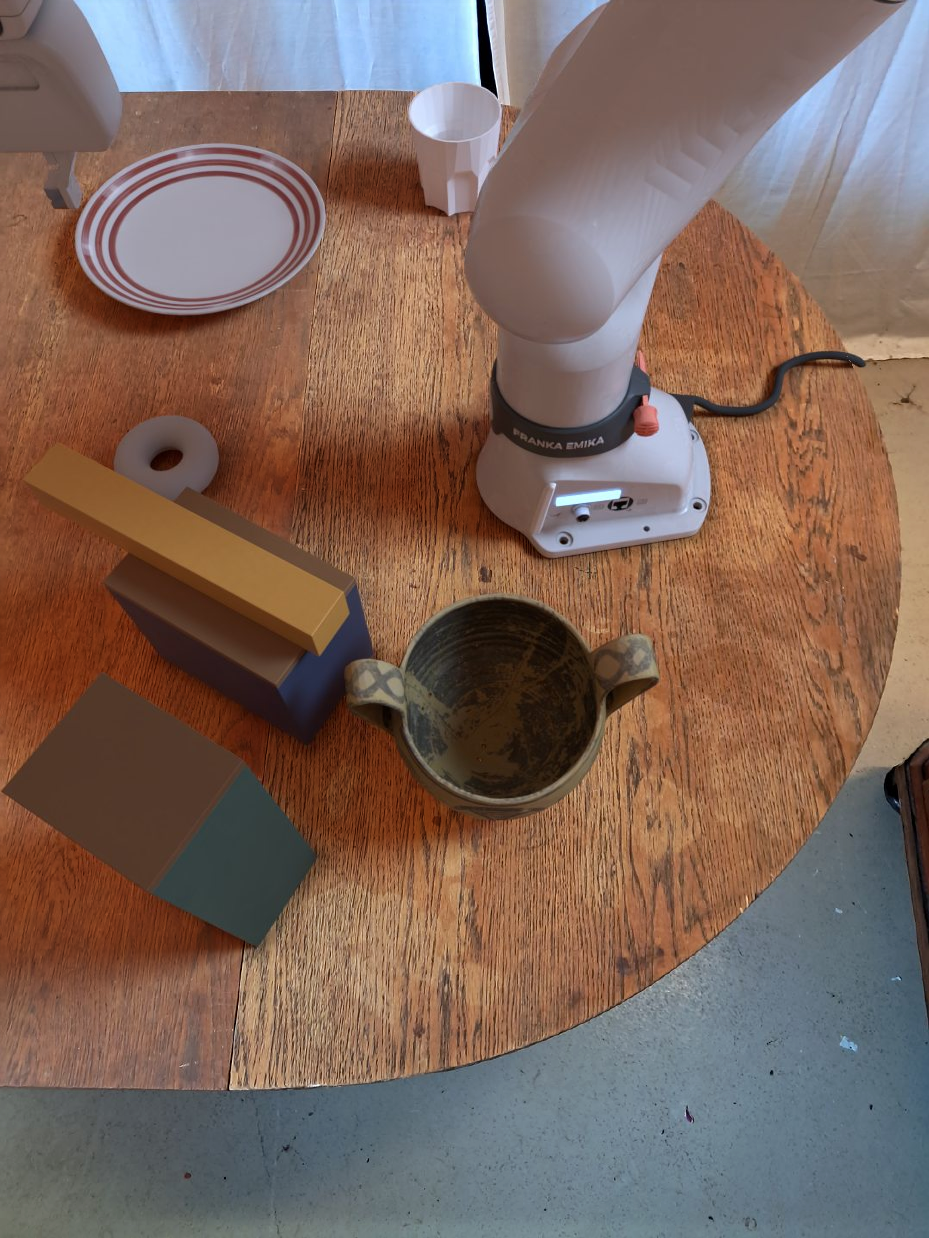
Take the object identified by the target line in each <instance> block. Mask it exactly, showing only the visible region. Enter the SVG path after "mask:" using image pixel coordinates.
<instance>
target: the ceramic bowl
mask: <svg viewBox="0 0 929 1238" xmlns="http://www.w3.org/2000/svg"><path fill="white" fill-rule="evenodd" d="M656 658H657V657H656V653H655V648H654V645H653V641H652V639H651V637H650V636H648V635H646V634H643V633H629V634H626V635H621V636H618V637H616V638H613V639H612V640H610V641H607V642H605V643H603V644H601V645H600V646H598V647H596V648H595V649H594V650H592V649H591V647H590V645H589V644H588V643H587V641H586V639H585V638H584V637H583V635H582V634H581V632H580V631H579V630H578V629H577V628H576V627H575V626H574V624H573V623H572V622H571V621H570V620H568V619H567V618H566V617H565V616H564V615H562V613H560V612H558V611H557V610H556V609H554V608H552V607H551V606H549V605H547V604H546V603H544V602H542V601H540V600H538V599H536V598H532V597H529V596H525V595H520V594H515V593H504V592H493V593H486V594H477V595H472V596H470V597H466V598H463V599H459V600H456V601H455V602H453V603H450V604H449V605H448V604H447V606H445V607H443V608H441V609H439V610H438V611H437V612H435V613H434V614H432V615H431V616H430V617H429V618H428V619H427V620H426V621H425V622H424V623H423V624H422V625H421V626H420V627H419V628H418V629H417V631H416V632H415V633H414V635H413V636H412V638H411V639H410V641H409V643H408V645H407V646H406V649H405V651H404V653H403V656H402V658H401V659H400V663H399V664H398V666H396V665H395V664H392V663H390V662H388V661H384V660H379V659H375V658H371V659H360V660H356V661H353V662H352V663H350V664H349V665H348V666H346V667H345V671H344V678H345V686H346V694H345V695H346V696H345V698H346V708H347V710H348V712H349V713H350V714H351V715H352V716H355V717H357V718H358V719H360V720H362V721H364V722H367V723H369V724H371V725H373V726H374V727H376V728H377V729H378V728H379V729H381V730H382V731H383V732H385V733H386V734H388V735H389V736H390V737H392V738H393V739H394V742H395V746H396V747H397V750H398V751H397V752H398V754H399V756H400V758H401V760H402V761H403V764H404V765H405V767H406V768H407V770H408V772H409V773H410V774H411V776H412V777H413V779H414V780H415V781H416V782H417V783H418V784H419V786H421V788H422V789H423V790H425V791H426V792H427V793H428V794H429V795H430V796H431V797H433V799H435V800H436V801H438V802H439V803H441V804H442V805H444V806H446V807H447V808H449V809H451V810H453V811H455V812H457V813H459V814H461V815H464V816H467V817H470V818H473V819H475V820H483V821H484V820H486V821H493V822H494V821H495V822H496V821H511V820H513V821H514V820H519V819H523V818H527V817H530V816H533V815H535V814H538V813H540V812H544V811H545V810H547V809H549V808H551V807H552V806H554V805H556V804H558V803H559V802H560V801H561V800H563V799H564V798H565V797H567V796H568V795H569V794H571V793H572V792H573V791H574V790H575V789H576V788H577V787H578V785H579V784H581V782H582V781H583V780H584V779H585V778H586V777H587V775H588V774H589V772H590V771H591V769H592V767H593V766H594V763H595V762H596V760H597V757H598V755H599V752H600V750H601V747H602V745H603V741H604V735H605V730H606V721H607V719H608V718H609V717H610V716H612V714H614V713H615V712H616V711H618V710H619V709H621V708H622V707H623V706H625V705H627V704H628V703H630V702H631V701H633V700H634V699H636V698H637V697H638V696H641V695H643V694H644V693H646V692H648V691H650V690H651V689H652V688H654V687H656V686H657V685H658V683H659V682H660V680H661V678H660V673H659V672H660V671H659V667H658V664H657V660H656ZM483 746H484V747H483Z"/></svg>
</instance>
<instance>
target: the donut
mask: <svg viewBox="0 0 929 1238" xmlns="http://www.w3.org/2000/svg"><path fill="white" fill-rule="evenodd" d="M218 448H219V447H218V444H217V441H216V439H215V438H214V437H213V435H212V434H211V432H210V431H209V430H208V428H207V427H205V426H204V425H202V424H201V423H200V422H199V421H197V420H195V419H193V418H189V417H186V416H183V415H174V414H173V415H172V414H164V415H160V416H155V417H151V418H148V419H146V420H144V421H142V422H140V423H138V424H136V425H135V426H133V427H132V428H131V429H130V430H128V432H126V434H124V436H123V437H122V439H121V440H120V442H119V443H118V445H117V447H116V450H115V452H114V453H115V454H114V458H113V462H112V463H113V471H114V472H116V473H118V474H120V475H122V476H124V477H126V478H128V479H130V480H131V481H133V482H135V483H137V484H139V485H141V486H143V487H145V488H147V489H149V490H151V491H153V492H154V493H156V494H158V495H160V496H162V497H164V498H166V499H168V500H170V501H172V502H173V501H174V500H175V499H176V498H177V497H178V496H179V495H180V494H181V492H182V491H183V490H184V489H185V488H186V487H189V488H191V489H193V490H195V491H197V492H198V493H200V494H202V492H203V491H205V490H206V488H208V487H209V486H210V484H211V482H212V481H213V479H214V478H215V476H216V474H217V472H218V467H219V462H220V455H219V450H218ZM166 451H179V452H180V453H182V458H181V460H180V461H179V463H178V464H176V465H175V466H173V467H171V468H170V469H166V470H155V469H153V468H152V467H151V464H152V462H153V460H154V458H157V456H158V455H159V454H161V453H163V452H166Z"/></svg>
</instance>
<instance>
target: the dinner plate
mask: <svg viewBox="0 0 929 1238" xmlns="http://www.w3.org/2000/svg"><path fill="white" fill-rule="evenodd" d="M325 207H326V206H325V203H324V200H323V197H322V194H321V192H320V190H319V188H318V186H317V185H316V183H315V182H314V181H313V179H312V178H311V177H310V176H309V175H308V173H306V172H305V171H304V170H303V169H302V168H301V167H299V166H298V165H297V164H295V163H294V162H292V161H290V160H289V159H287V158H285V157H283V156H281V155H279V154H276V153H274V152H272V151H269V150H266V149H262V148H260V147H254V146H250V145H243V144H238V143H237V144H236V143H218V142H217V143H215V142H214V143H199V144H192V145H191V144H190V145H184V146H180V147H176V148H171V149H168V150H164V151H160V152H157V153H154V154H152V155H149V156H147V157H144V158H142V159H139V160H137V161H135V162H134V163H132V164H130V165H128V166H126V167H124V168H122V169H121V170H120V171H118V172H116V173H115V174H113V176H111V177H110V178H109V179H108V180H106V181H105V182H104V183H103V184H102V185H101V186H100V187H99V188H98V189H97V190H96V191H95V192H94V193H93V194H92V196H91V197H90V198H89V200H88V201H87V203H86V204H85V206H84V208H83V209H82V211H81V213H80V215H79V218H78V220H77V222H76V227H75V231H74V232H75V233H74V247H75V252H76V257H77V261H78V263H79V265H80V267H81V269H82V271H83V272H84V275H86V277H87V279H89V280H90V282H91V283H92V284H93V285H94V286H95V287H97V289H98V290H100V291H101V292H102V293H104V294H105V295H107V296H109V297H110V298H111V299H114V300H116V301H117V302H119V303H122V304H124V305H126V306H129V307H132V308H135V309H138V310H141V311H145V312H149V313H154V314H161V315H170V316H200V315H206V314H207V315H208V314H214V313H219V312H223V311H228V310H231V309H236V308H239V307H241V306H244V305H247V304H250V303H252V302H255V301H257V300H259V299H261V298H263V297H265V296H267V295H269V294H271V293H272V292H274V291H276V290H278V289H279V288H281V286H283V285H285V284H286V283H287V282H289V281H290V280H291V279H293V277H295V276H296V275H297V274H298V273H299V272H300V271H302V269H303V268H304V267H305V266H306V264H308V262H309V261H310V259H311V258H313V255H314V254H315V252H316V251H317V249H318V247H319V245H320V243H321V241H322V238H323V236H324V230H325V227H326V208H325Z"/></svg>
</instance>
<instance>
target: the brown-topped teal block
mask: <svg viewBox="0 0 929 1238" xmlns="http://www.w3.org/2000/svg"><path fill="white" fill-rule="evenodd" d="M0 792H1V793H3V795H5V796H7V797H8V798H9V799H11V800H12V801H14V802H16V803H17V804H18V805H20V806H21V807H22V808H24V809H26V810H27V811H28V812H29V813H31V814H32V815H34V816H36V817H37V818H38V819H40V820H42V821H43V822H44V823H46V824H47V825H49V826H50V827H52V828H53V829H54V830H56V831H58V832H59V833H60V834H62V835H63V836H65V837H66V838H67V839H69V840H71V841H72V842H73V843H75V844H76V845H77V846H79V847H81V848H82V849H83V850H85V851H86V852H88V853H89V854H91V855H92V856H94V857H95V858H97V859H98V860H100V861H101V862H102V863H104V864H105V865H106V866H108V867H110V869H113V870H114V871H116V872H117V873H118V874H120V875H121V876H123V877H124V878H125V879H127V880H128V881H130V882H132V883H133V884H134V885H135V886H137V887H139V889H142V890H143V891H144V892H146V893H148V894H150V895H152V896H154V897H156V898H158V899H160V900H162V901H164V902H166V903H168V904H170V905H172V906H174V907H176V908H178V909H179V910H182V911H184V912H186V913H187V914H190V915H192V916H194V917H196V918H198V919H200V920H202V921H203V922H206V923H208V924H210V925H212V926H214V927H215V928H218V929H220V930H222V931H224V932H226V933H228V934H229V935H232V936H233V937H235V938H238V939H240V940H242V941H244V942H245V943H248V944H250V945H251V946H254V947H256V948H259V947H260V945H261V944H262V943H263V941H264V939H265V938H266V936H267V935H268V933H269V932H270V930H271V929H272V927H273V926H274V924H275V923H276V921H277V920H278V918H279V917H280V915H281V914H282V912H283V910H284V909H285V908H286V906H287V905H288V903H289V902H290V900H291V899H292V897H293V896H294V894H295V893H296V891H297V889H298V888H299V886H300V885H301V884H302V882H303V881H304V880H305V877H306V876H307V875H308V873H309V872H310V870H311V868H312V867H313V865H314V864H315V863H316V861H317V859H318V858H319V856H318V854H317V853H316V852H315V851H314V850H313V849H314V848H312V847H311V846H310V844H309V843H308V842H307V840H306V839H305V838H304V837H303V835H302V834H301V832H299V830H298V828H297V827H296V826H295V825H294V824H293V822H292V821H291V820H290V819H289V817H288V816H287V815H286V813H285V812H284V810H282V808H281V807H280V806H279V805H278V803H277V802H276V800H275V799H274V798H273V797H272V795H271V794H270V793H269V791H268V790H267V789H266V788H265V786H264V785H263V784H262V783H261V781H260V780H259V778H258V777H257V776H256V775H255V773H254V772H253V771H252V769H251V768H250V767H249V766H248V765H247V763H246V762H245V760H244V759H242V758H241V757H239V756H238V755H236V754H234V753H233V752H231V751H230V750H229V749H226V748H224V747H223V746H222V745H220V744H219V743H216V742H215V741H214V740H213V739H211V738H209V737H207V736H205V735H204V734H203V733H201V732H199V731H198V730H196V729H194V728H193V727H191V726H189V725H188V724H186V723H185V722H183V721H182V720H180V719H178V718H177V717H175V716H173V715H172V714H170V713H169V712H168V711H165V710H164V709H162V708H161V707H159V706H157V705H156V704H155V703H153V702H151V701H150V700H148V699H146V698H145V697H143V696H142V695H140V694H138V693H137V692H135V691H134V690H132V689H130V688H129V687H127V686H126V685H125V684H122V683H120V681H117V680H116V679H114V678H113V677H111V676H110V675H108V674H106V673H105V672H103V671H100V673H98V675H97V676H96V678H94V680H93V681H92V682H91V683H90V685H89V686H88V687H87V688H86V689H85V690H84V691H83V693H82V694H81V695H80V696H79V697H78V698H77V700H76V701H75V703H74V704H73V705H72V706H71V707H70V708H69V710H68V711H67V712H66V713H65V714H64V715H63V716H62V717H61V719H60V720H59V721H58V722H57V724H56V725H55V726H54V727H53V728H52V730H51V731H50V732H49V733H48V734H47V736H46V737H45V738H44V739H43V740H42V741H41V743H40V744H39V745H38V746H37V747H36V749H35V750H34V751H33V752H32V753H31V754H30V756H29V757H28V758H27V759H26V761H25V762H24V763H23V764H22V765H21V766H20V768H19V769H18V770H17V771H16V772H15V774H14V775H13V776H12V777H11V778H10V780H9V781H8V782H7V783H6V784H5V785H4V787H3V788H2V789H1V790H0Z"/></svg>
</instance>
